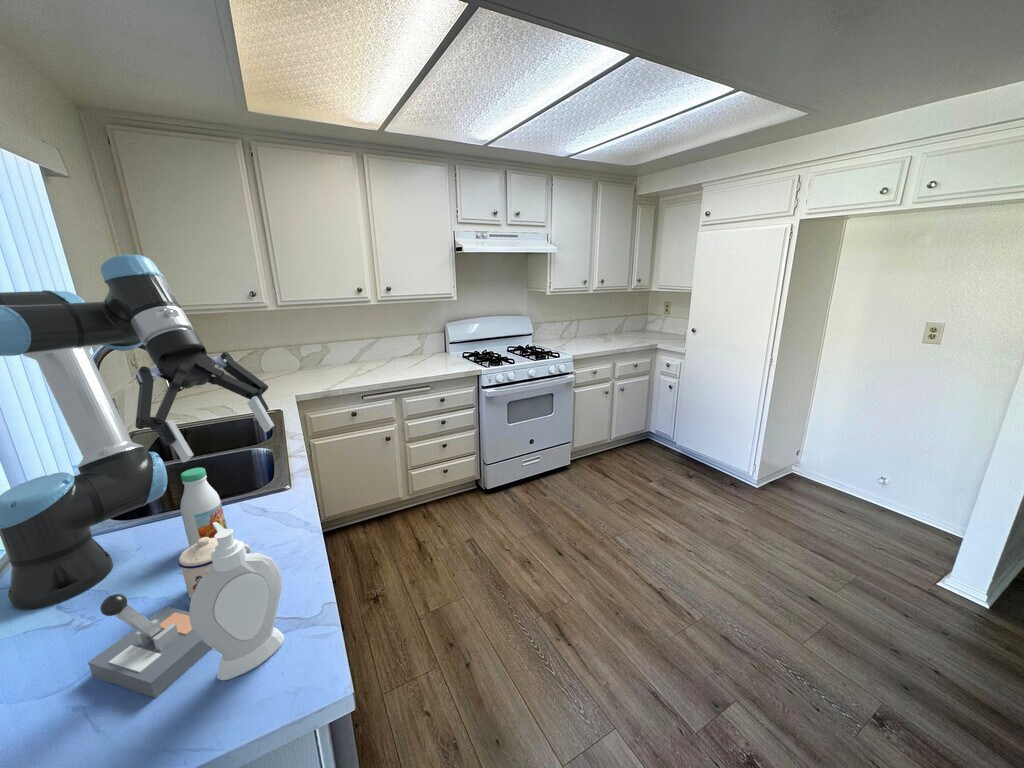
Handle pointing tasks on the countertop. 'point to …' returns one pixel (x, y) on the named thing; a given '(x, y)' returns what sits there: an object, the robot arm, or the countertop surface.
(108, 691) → the countertop surface
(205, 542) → the teacup with lid
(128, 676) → the switch base
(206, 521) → the milk bottle
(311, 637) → the countertop surface
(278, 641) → the soap bottle
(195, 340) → the robot arm
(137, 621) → the lever
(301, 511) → the countertop surface
